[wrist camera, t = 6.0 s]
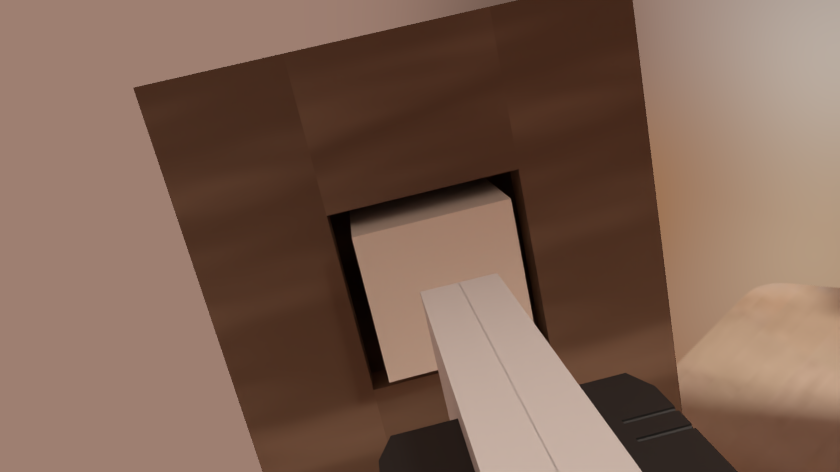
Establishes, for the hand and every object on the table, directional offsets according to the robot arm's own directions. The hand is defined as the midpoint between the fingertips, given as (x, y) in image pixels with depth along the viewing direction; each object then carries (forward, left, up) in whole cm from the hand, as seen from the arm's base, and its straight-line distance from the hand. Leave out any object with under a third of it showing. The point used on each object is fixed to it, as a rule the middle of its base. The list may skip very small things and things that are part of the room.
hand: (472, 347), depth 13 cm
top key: (+4, -5, -2) cm, 6 cm away
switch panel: (+5, -6, -25) cm, 26 cm away
